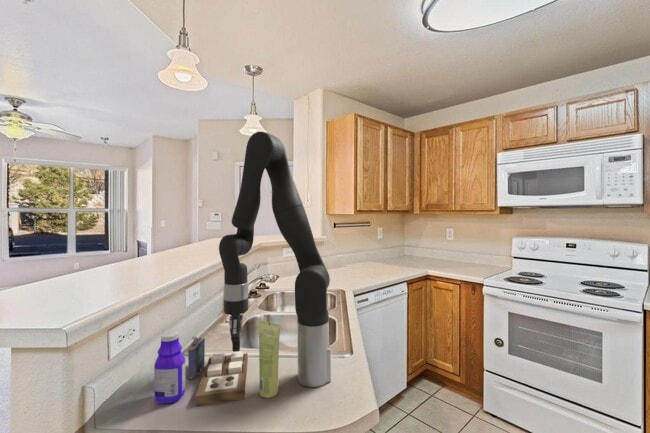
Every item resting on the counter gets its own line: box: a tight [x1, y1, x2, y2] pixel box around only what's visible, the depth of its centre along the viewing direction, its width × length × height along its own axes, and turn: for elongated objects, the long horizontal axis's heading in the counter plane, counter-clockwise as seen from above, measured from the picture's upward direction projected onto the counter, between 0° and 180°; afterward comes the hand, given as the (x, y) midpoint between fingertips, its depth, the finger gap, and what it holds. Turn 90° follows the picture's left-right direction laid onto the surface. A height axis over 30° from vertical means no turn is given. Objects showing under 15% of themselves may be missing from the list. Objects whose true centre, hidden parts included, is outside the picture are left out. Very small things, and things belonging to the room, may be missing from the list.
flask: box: [187, 336, 206, 380], centre depth 90 cm, size 9×3×11 cm, turn 4°
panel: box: [195, 352, 249, 407], centre depth 85 cm, size 12×20×3 cm, turn 13°
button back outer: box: [211, 352, 226, 364], centre depth 91 cm, size 4×4×2 cm
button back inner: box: [230, 350, 244, 362], centre depth 92 cm, size 4×4×2 cm
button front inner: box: [228, 361, 242, 374], centre depth 86 cm, size 4×4×2 cm
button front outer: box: [207, 363, 222, 377], centre depth 85 cm, size 4×4×2 cm
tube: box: [257, 319, 281, 399], centre depth 79 cm, size 6×5×20 cm
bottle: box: [153, 330, 186, 404], centre depth 77 cm, size 7×6×17 cm
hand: (236, 350), depth 92 cm, fingers closed
